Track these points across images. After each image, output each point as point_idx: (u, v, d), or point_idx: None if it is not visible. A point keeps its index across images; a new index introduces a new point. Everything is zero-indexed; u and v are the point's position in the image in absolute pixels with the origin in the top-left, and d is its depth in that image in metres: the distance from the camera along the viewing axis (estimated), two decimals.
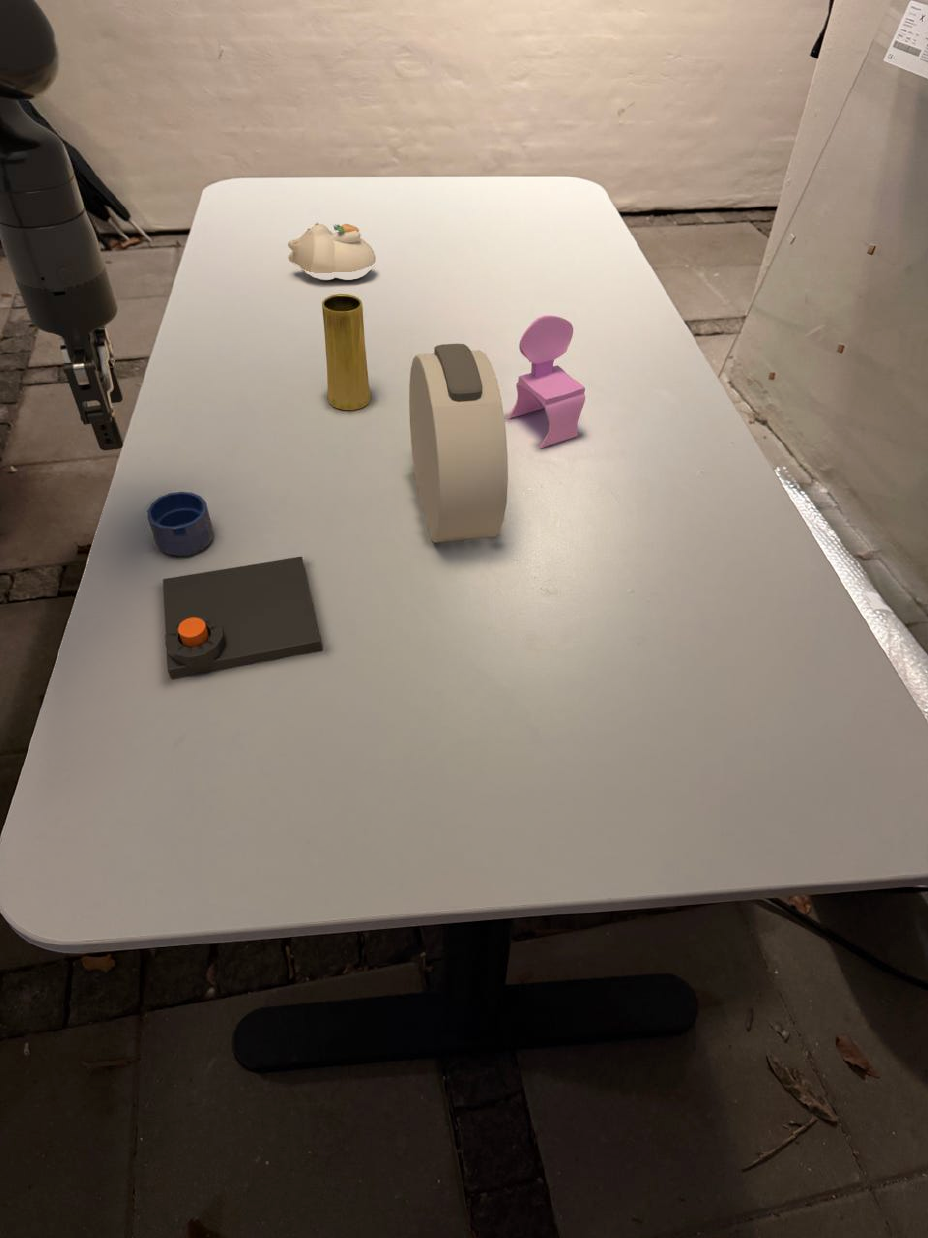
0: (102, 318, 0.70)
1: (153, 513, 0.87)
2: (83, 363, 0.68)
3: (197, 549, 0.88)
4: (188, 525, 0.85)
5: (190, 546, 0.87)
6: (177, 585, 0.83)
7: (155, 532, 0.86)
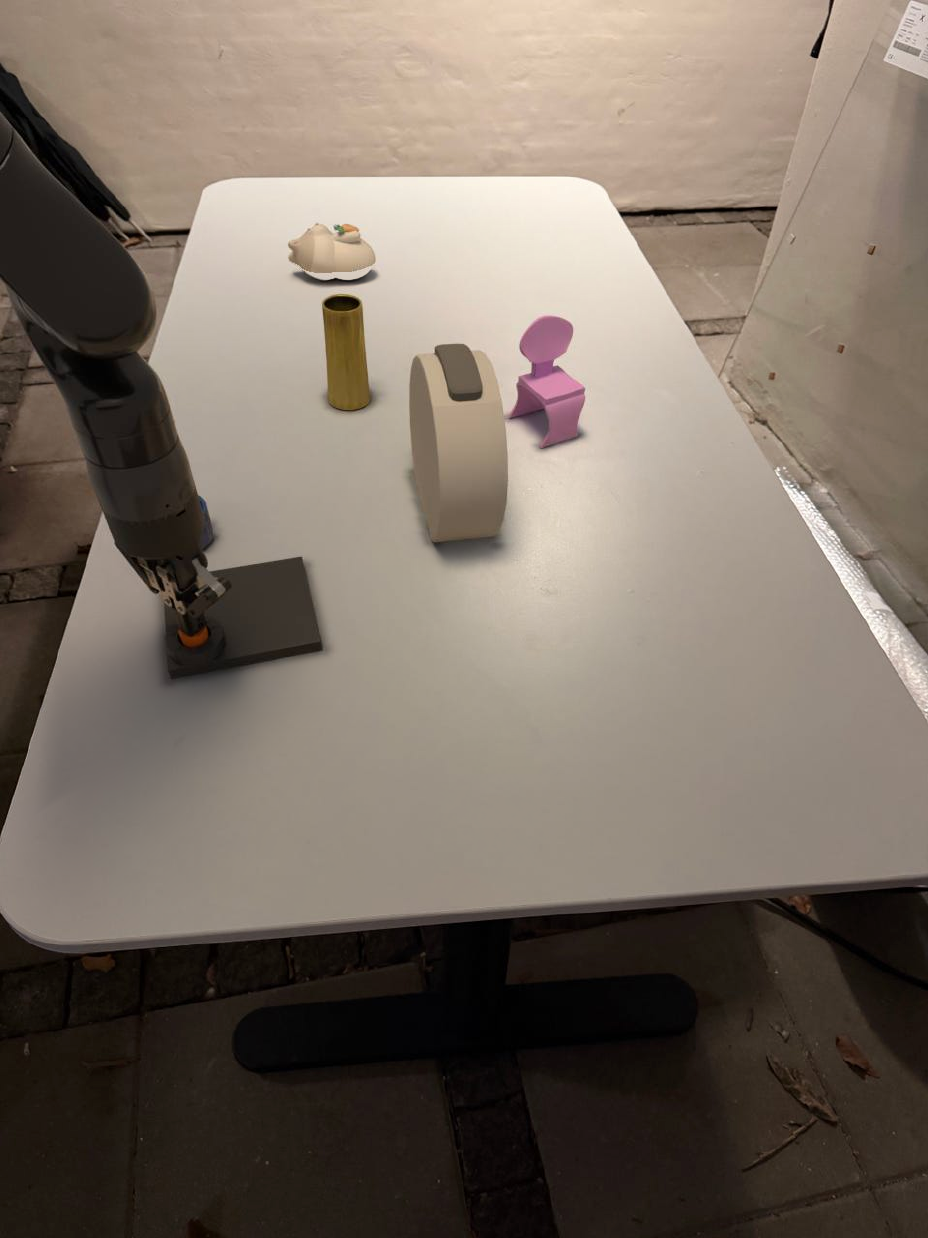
0: (203, 520, 0.66)
1: None
2: (224, 587, 0.67)
3: None
4: None
5: None
6: None
7: None
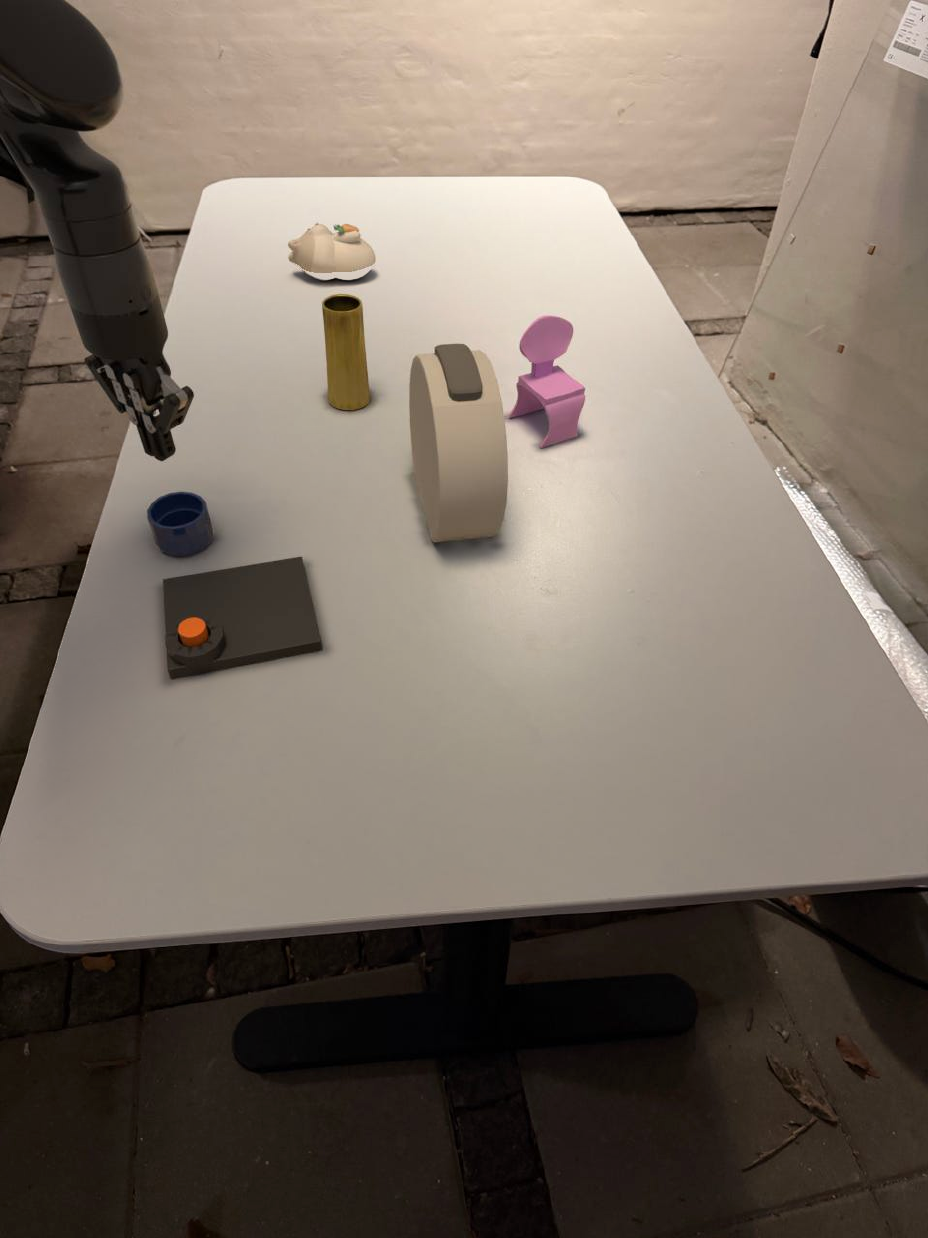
0: (167, 330, 0.72)
1: (153, 513, 0.87)
2: (186, 394, 0.72)
3: (197, 549, 0.88)
4: (188, 525, 0.85)
5: (190, 546, 0.87)
6: (177, 585, 0.83)
7: (155, 532, 0.86)
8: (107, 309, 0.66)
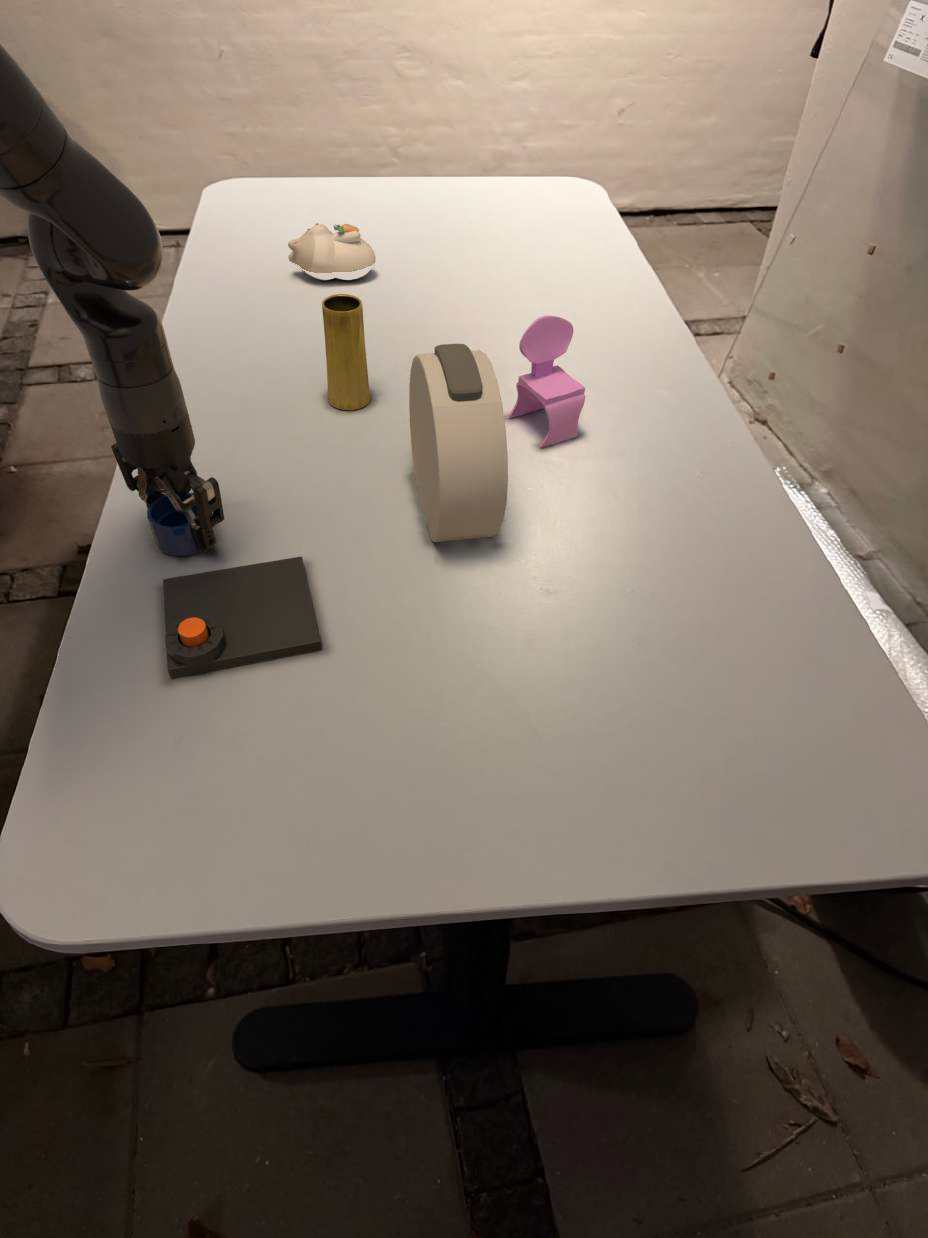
0: (194, 439, 0.81)
1: (153, 513, 0.87)
2: (210, 482, 0.80)
3: None
4: (189, 525, 0.85)
5: (190, 546, 0.87)
6: (177, 585, 0.83)
7: (155, 532, 0.86)
8: (144, 429, 0.75)
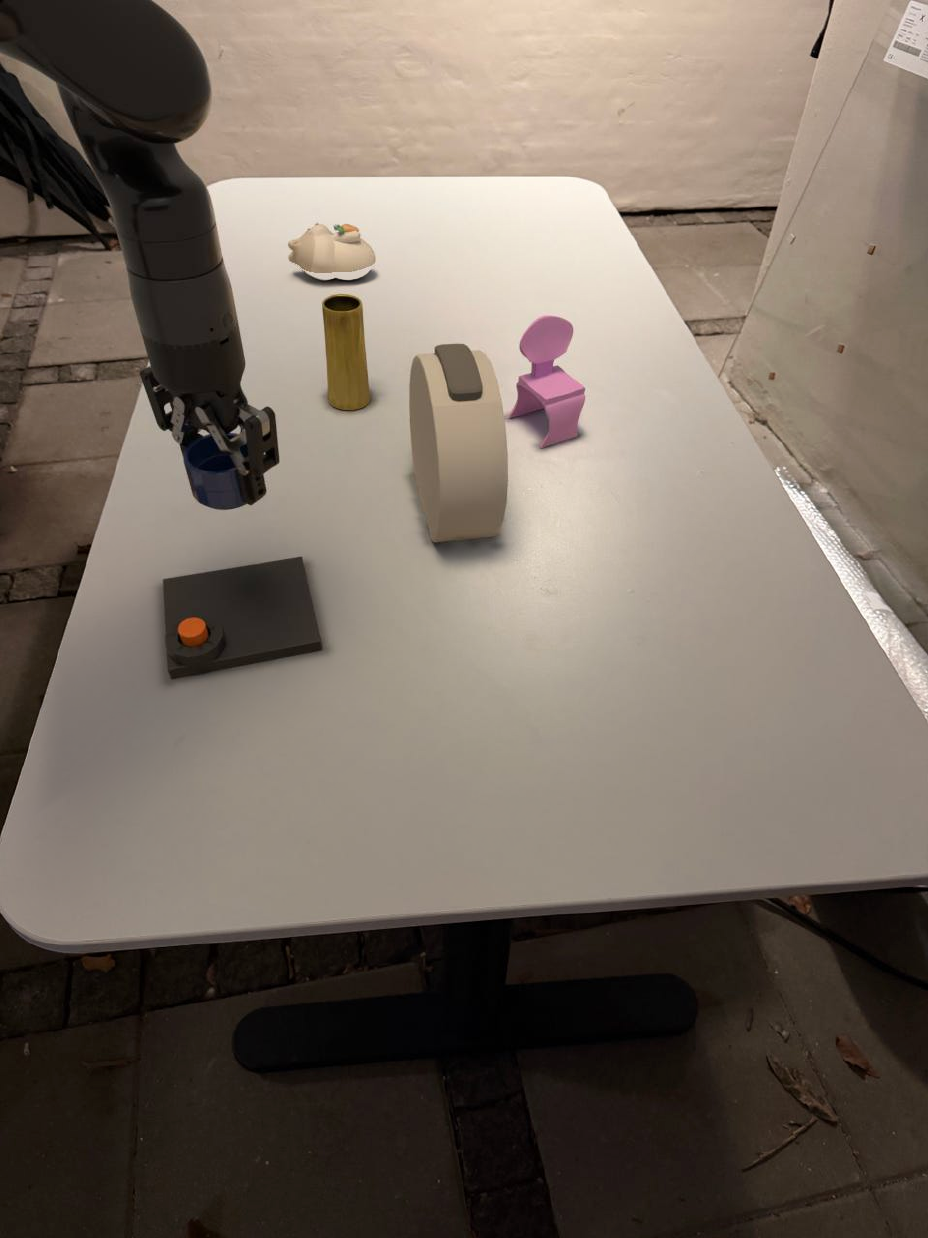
0: (244, 359, 0.65)
1: (190, 457, 0.72)
2: (265, 413, 0.64)
3: None
4: (235, 470, 0.69)
5: (235, 497, 0.71)
6: (177, 585, 0.83)
7: (193, 479, 0.70)
8: (186, 339, 0.59)
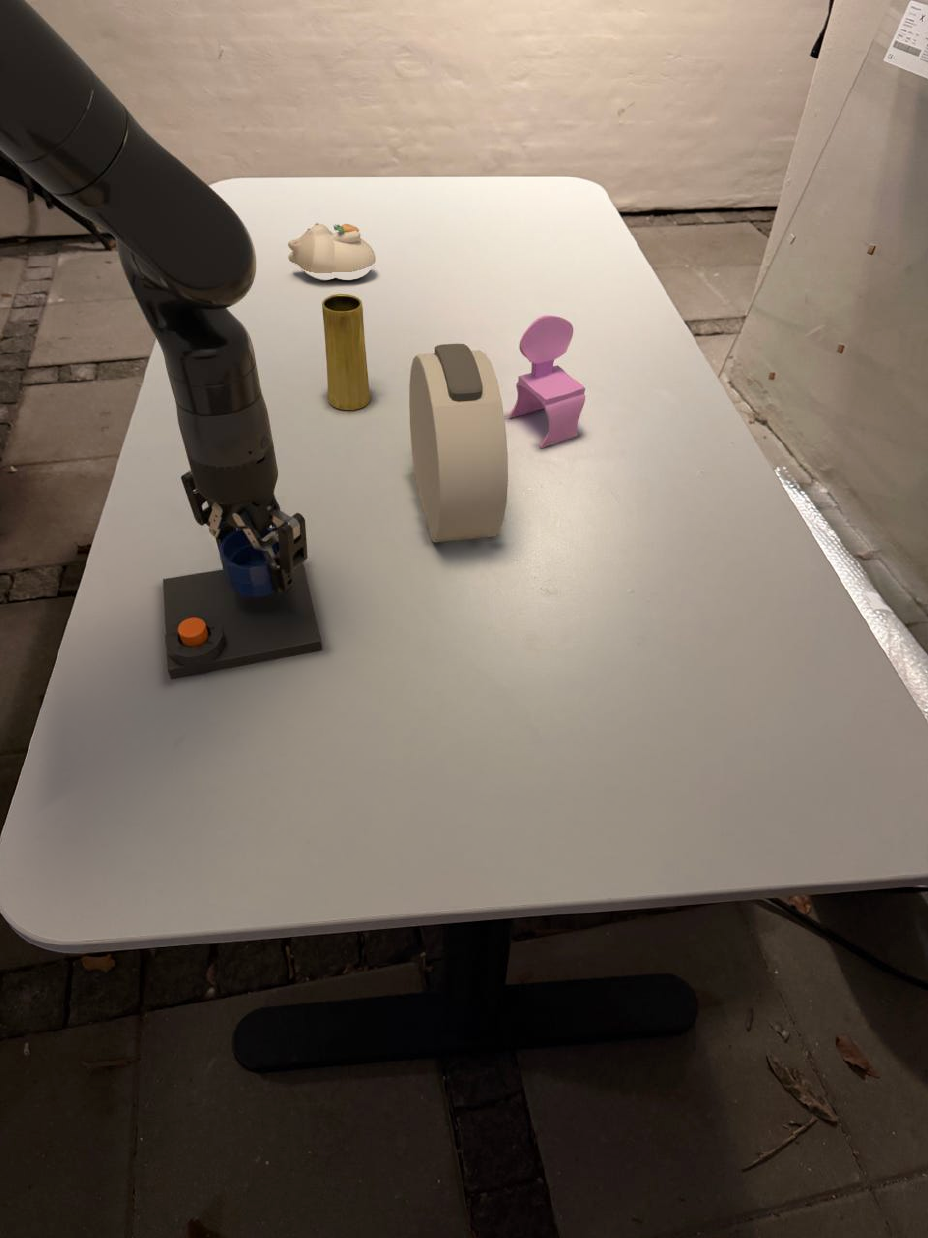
0: (277, 470, 0.71)
1: (225, 550, 0.78)
2: (296, 519, 0.71)
3: (273, 590, 0.79)
4: (267, 564, 0.76)
5: (266, 587, 0.78)
6: (177, 585, 0.83)
7: (228, 572, 0.77)
8: (227, 461, 0.65)
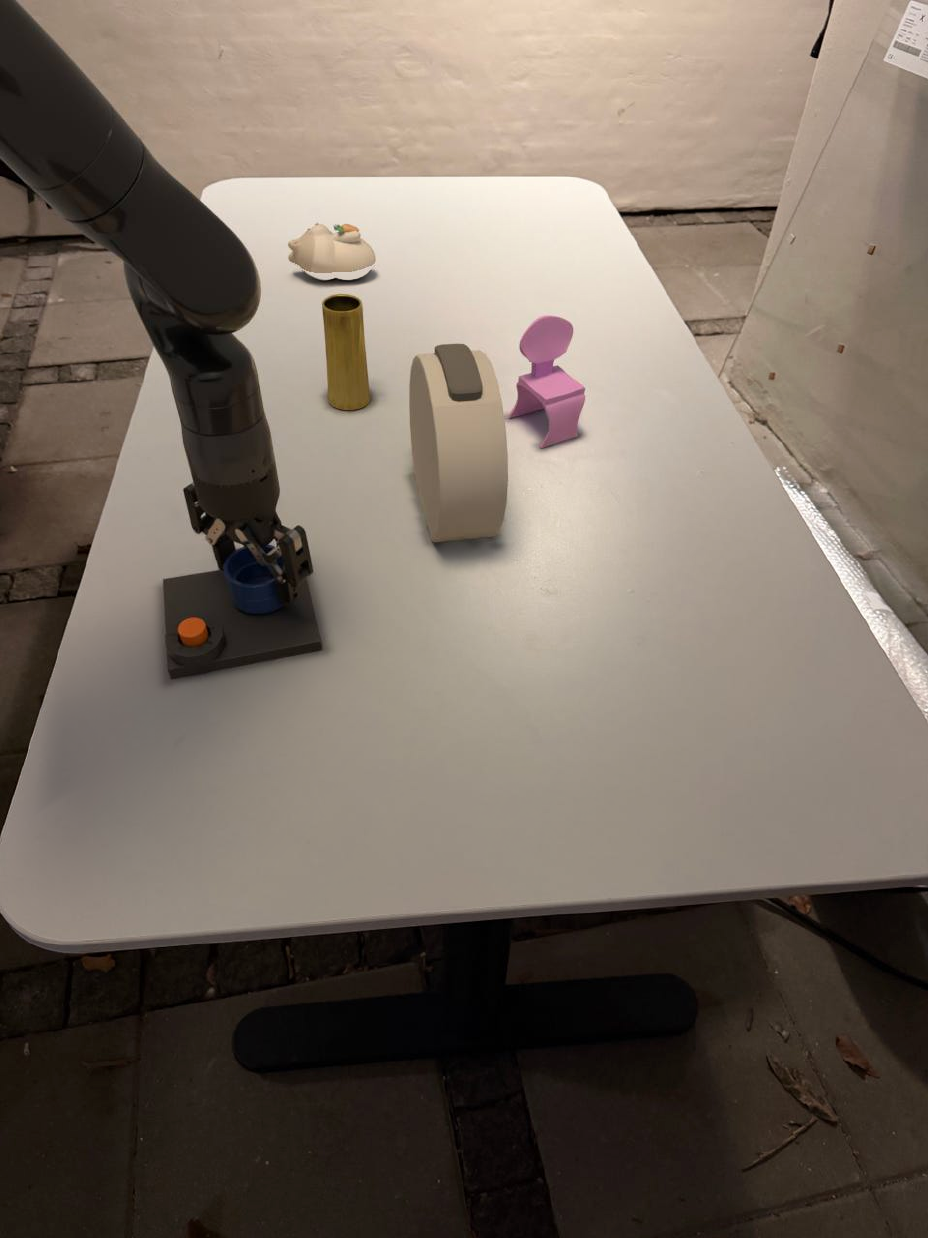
0: (279, 487, 0.73)
1: (230, 568, 0.80)
2: (296, 531, 0.72)
3: (277, 607, 0.81)
4: (270, 583, 0.78)
5: (270, 604, 0.80)
6: (177, 585, 0.83)
7: (233, 590, 0.79)
8: (231, 480, 0.67)
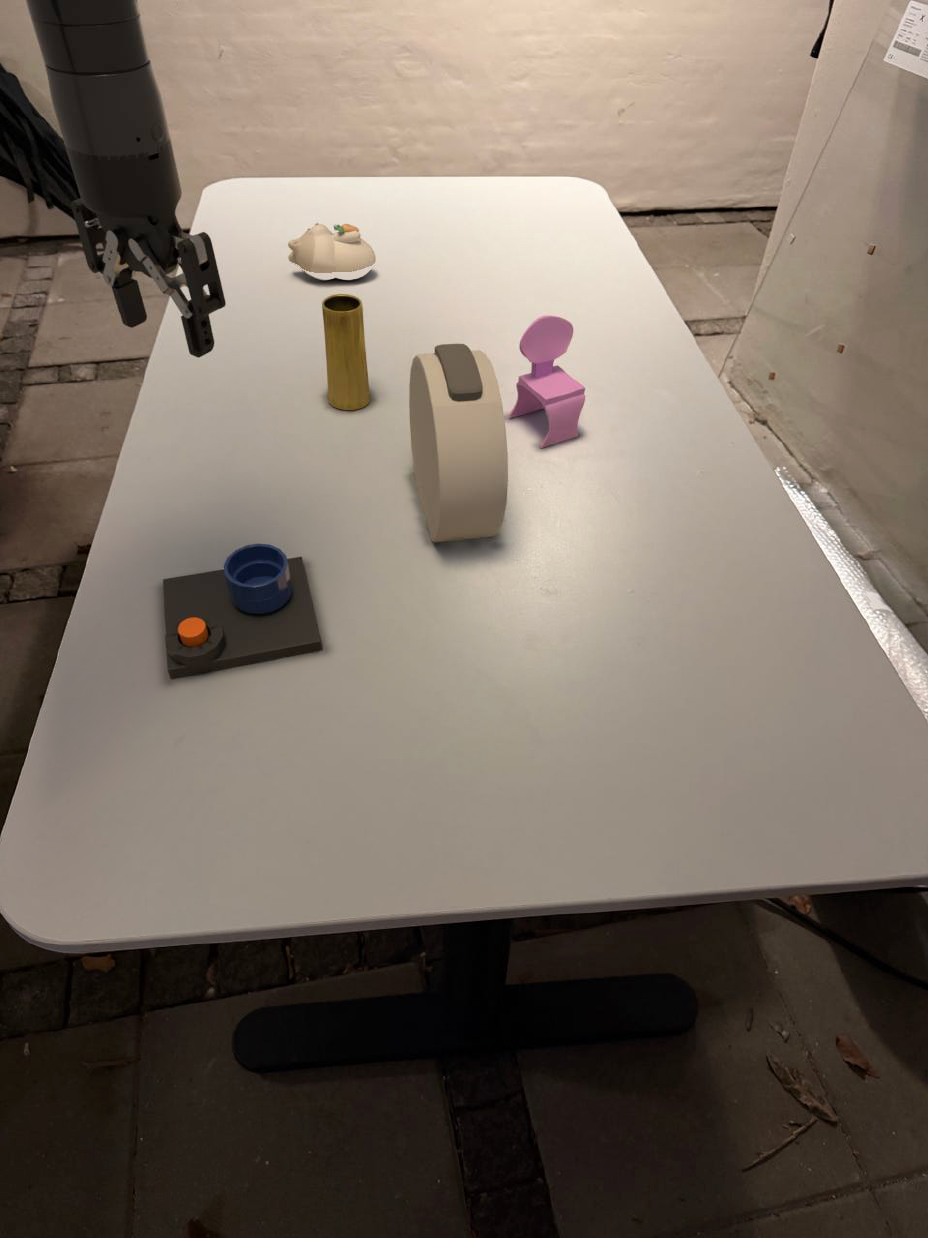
0: (180, 188, 0.61)
1: (230, 568, 0.80)
2: (199, 236, 0.60)
3: (277, 607, 0.81)
4: (270, 583, 0.78)
5: (270, 604, 0.80)
6: (177, 585, 0.83)
7: (233, 590, 0.79)
8: (111, 147, 0.55)
